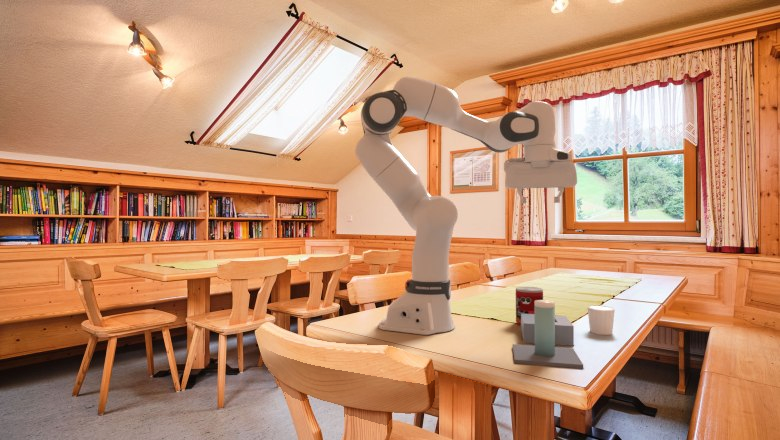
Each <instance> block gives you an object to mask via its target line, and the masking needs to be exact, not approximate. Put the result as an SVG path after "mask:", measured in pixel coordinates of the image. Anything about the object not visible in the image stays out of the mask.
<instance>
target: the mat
mask: <svg viewBox="0 0 780 440" xmlns="http://www.w3.org/2000/svg"><path fill="white" fill-rule="evenodd" d="M512 353H513V360H514V364H519V365H520V364H521V365H532V366H533V365H534V366H544V367H546V366H547V367H560V368H569V369H570V368H571V369H582V370H583V369H584V363H583V362H582V360H581V359H580V357H579V356H578V354H577V352H576V350H575V349H574V348H572V347H562V346H561V347H559V346H558V347H557V346H555V355H554V356H551V357H546V356H540V355H537V354H535V345H530V344H516V343H515V344H514V343H512Z"/></svg>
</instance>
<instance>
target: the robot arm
mask: <svg viewBox="0 0 780 440" xmlns="http://www.w3.org/2000/svg"><path fill="white" fill-rule="evenodd" d="M363 103H364V104H363V106H362V108H361V111H360V118H361V119H360V120H361V126H362V130H363V133H364V134H363V136H362V137H361V138H360V139H359V140H358V142H357V143H356V146H355V149H354V151H355V155H356V158H357V159H358V161H359V163H360V164H361V165H362V167H363V169H364V170H365V171H366V173H367V174H368V175H369V176H370V177H371V178H372V180H374V182H375V184H377V185H378V186H379V188H380V189H381V190H382V191H383V192H384V193H385V194H386V196H387V197H388V198H389V199H390V200H391V201H392V202H393V204H394V206H395V207H396V208H397V209H398V212H399V213H400V214H401V216H402V217H403V218H404V220H405V221H406V222H407V224H408V225H409V226H410V228H412V230H414V231H415V237H414V238H415V239H414V245H413V250H412V252H411V278H408V279H407V280H406V282H405V283H404V289H405V292H404V293H402V294H401V295H400V296H399V297H397V298H396V299H395V300H394V301H392V302H391V303H390V304H389V305H388V309H387V312H386V317H385V318H383V319H382V320H380V322H379V324H378V328H379V329H380V330H384V331H390V332H392V331H393V332H397V333H398V332H399V333H407V334H416V335H422V336H423V335H424V336H429V335H432V334H433V335H434V334H437V333H445V332H449V331H452V330H453V329H455V323H454V320H453V316H452V311H451V310H452V309H451V301H450V299H451V295H452V294H451V293H452V284H451V280H450V277H449V275H450V250H451V249H450V248H451V243H452V237H453V231H454V227H455V225H456V223H457V221H458V215H459V213H458V208H457V207H456V205H455V203H454V202H453V201H452V200H450V199H449V198H447V197H444V196H441V195H431V194H430V193H429V191H428V190H427V188H426V187H425V185H424V184H423V182H422V180H421V178H420V174H419V172H417V171H416V169H415V168H414V167H413V166H412V165H411V164H410V162H409V161H408V160H407V159H406V158H405V157H404V156H403V155H402V154H401V152H400V151H399V150H398V149H397V148H396V147H395V145H394V144H393V142H392V140H391V133H392V132H393V131H394V130H395V129H396V127H397V126H398V125H399V123H400V121H401V120H402V118H404V117H411V118H415V119H419V120H421V121H424V122H427V123H430V124H434V125H437V126H441V127H444V128H447V129H450V130H452V131H454V132H457V133H459V134H462V135H464V136H467V137H470V138H472V139H474V140H477V141H479V142H481V143H482V144H483V145H484V146H485V147H486V148H488V149H489V150H490V151H492V152H495V153H499V154H500V153H505V152H507V151H509V150H510V149H511V148H513V147H515V146H518V145H523V148H524V150H523V151H524V152H523V153H524V157H517V158H514V157H510V158H508V159H506V160H505V161H504V163H503V170H504V173H505V182H504V183H505V184H504V186H505V188H506V189H511V190H513V189H516V193H517V194H518V196H519V197H520V204H527V197H525V196H523V194H522V192H523V189H549V188H550V189H551V188H557V192H559V193H558V194H557V196H553V203H554V204H559V203H561V196H562V194H563V193H564V192H565V188H575V186H577V184H578V174H577V169H576V165H575V163H574V162H573V161H572V159H573V154H572V153H571V152H567V151H564V150H561V149H560V150H559V149H556V142H555V135H556V116H555V111H554V108H553V106H552V105H551V104H550V103H548V102H546V101H540V100H537V101H530V102H528V103H527V104H526V105H524V106H523V107H521V108H519V109H517V110H513V111H509V112H507V113H505V114H504V115H502V116H500V118H498V119H497V120H491V121H488V120H485V119H482V118H480V117H477V116H475V115H472V114H470V113H468V112H466V111H465V110H463V108H462V107H461V102H460V99H459V96H458V94H457V93H456V91H454V90H452V89H451V88H449V87H447V86H445V85H442V84H440V83H437V82H433V81H431V80H427V79H423V78H419V77H418V78H417V77H411V76H403V77H401V78H399V79H398V80H397V81H396V83H395V84H394V86H393V88H392V89H390V90H386V91H381V92H379V91H378V92H376V93H374V94H372V95H370V96H368V98H367V99H365V102H363Z"/></svg>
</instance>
